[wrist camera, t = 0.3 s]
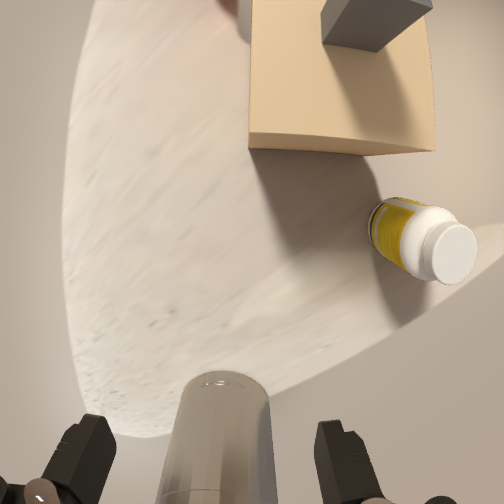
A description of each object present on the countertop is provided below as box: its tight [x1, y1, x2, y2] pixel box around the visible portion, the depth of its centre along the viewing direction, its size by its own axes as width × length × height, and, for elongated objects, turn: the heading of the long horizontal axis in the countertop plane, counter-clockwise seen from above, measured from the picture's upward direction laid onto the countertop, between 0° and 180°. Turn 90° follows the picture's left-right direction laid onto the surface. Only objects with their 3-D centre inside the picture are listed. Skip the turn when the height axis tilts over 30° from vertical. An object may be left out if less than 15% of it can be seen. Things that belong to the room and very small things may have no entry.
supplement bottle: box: [368, 197, 477, 285], centre depth 22 cm, size 5×5×10 cm
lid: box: [249, 0, 435, 151], centre depth 10 cm, size 12×10×7 cm
